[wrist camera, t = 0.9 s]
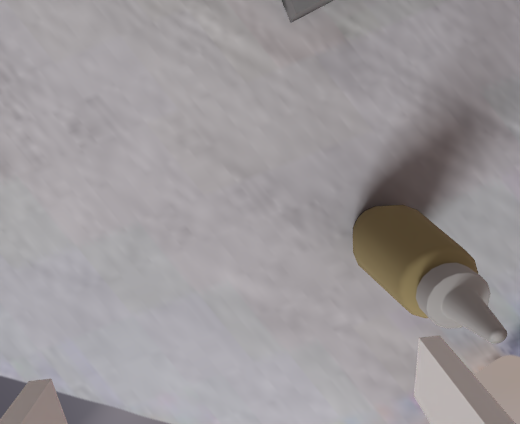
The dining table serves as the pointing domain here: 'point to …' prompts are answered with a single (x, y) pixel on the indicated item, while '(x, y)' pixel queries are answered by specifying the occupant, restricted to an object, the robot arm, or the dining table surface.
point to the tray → (302, 7)
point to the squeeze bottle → (424, 270)
